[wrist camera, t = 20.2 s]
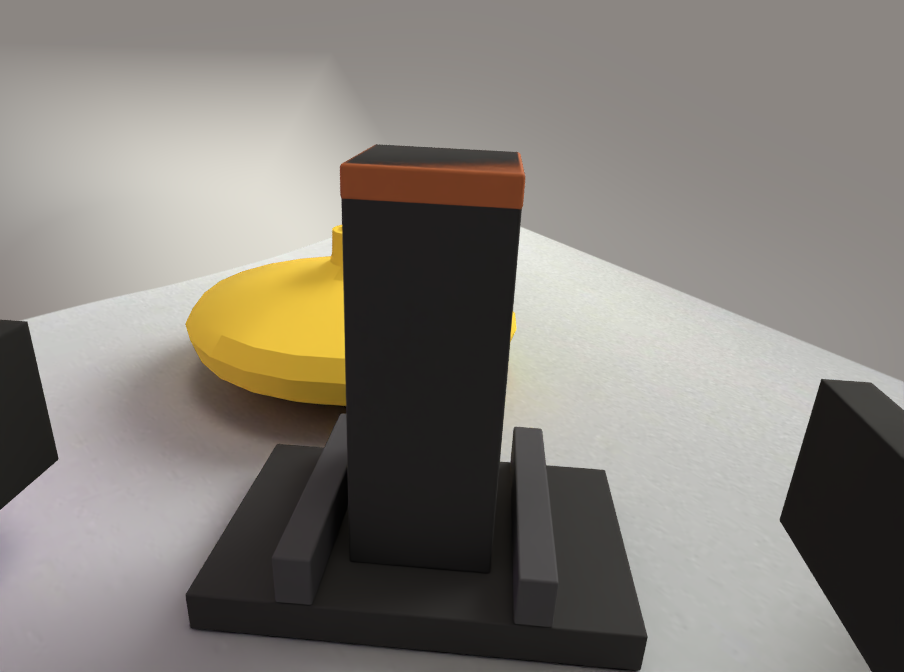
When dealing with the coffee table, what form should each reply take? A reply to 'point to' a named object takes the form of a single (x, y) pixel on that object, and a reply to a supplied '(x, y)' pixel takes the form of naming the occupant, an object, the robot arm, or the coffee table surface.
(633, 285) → the coffee table surface
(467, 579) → the dock pad
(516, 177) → the standing box
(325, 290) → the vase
